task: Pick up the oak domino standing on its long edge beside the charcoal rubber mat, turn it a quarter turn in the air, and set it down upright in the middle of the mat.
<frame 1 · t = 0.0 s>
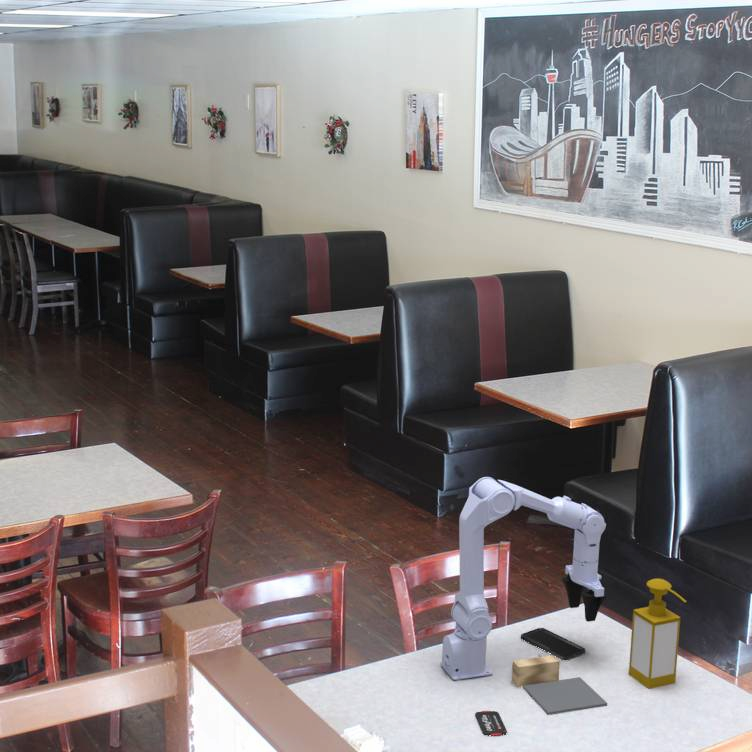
hand: (582, 613, 254), 10 cm above the table, tool pointing down, fingers open, 7 cm apart
rubber mat: (564, 696, 236), on the table
soap bottle: (659, 685, 242), on the table
phone: (552, 647, 260), on the table
oak domino: (535, 681, 243), on the table
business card: (490, 726, 224), on the table
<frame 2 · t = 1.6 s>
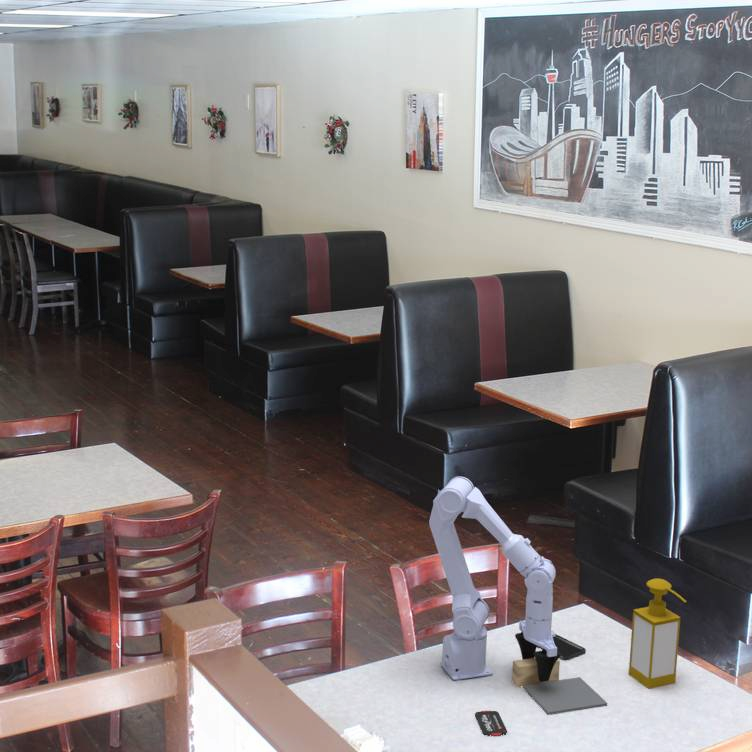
hand: (535, 672, 242), 2 cm above the table, tool pointing down, fingers open, 7 cm apart
nothing on the table moved.
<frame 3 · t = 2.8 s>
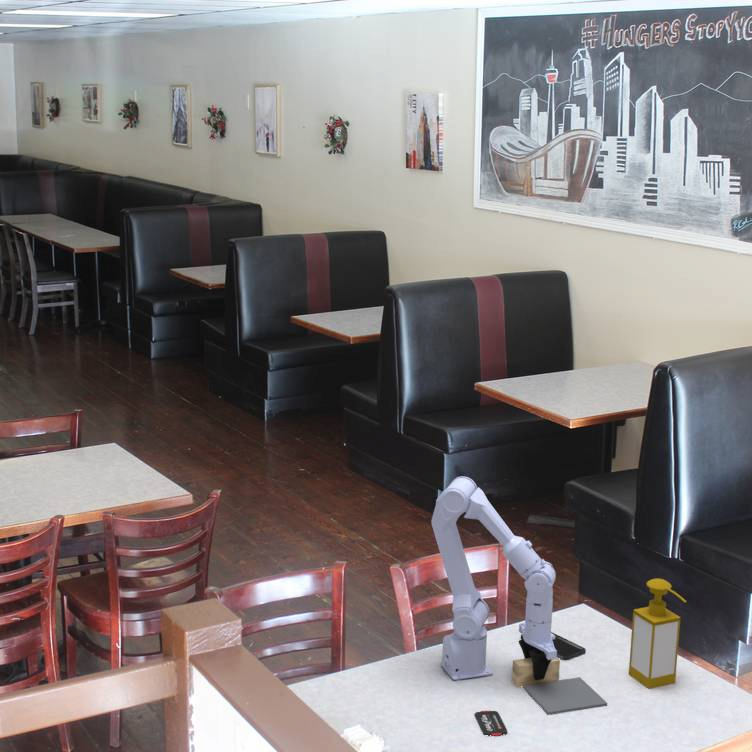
hand: (535, 675, 242), 1 cm above the table, tool pointing down, fingers closed on oak domino, 3 cm apart
oak domino: (535, 681, 243), on the table, touching gripper
everything else where it was.
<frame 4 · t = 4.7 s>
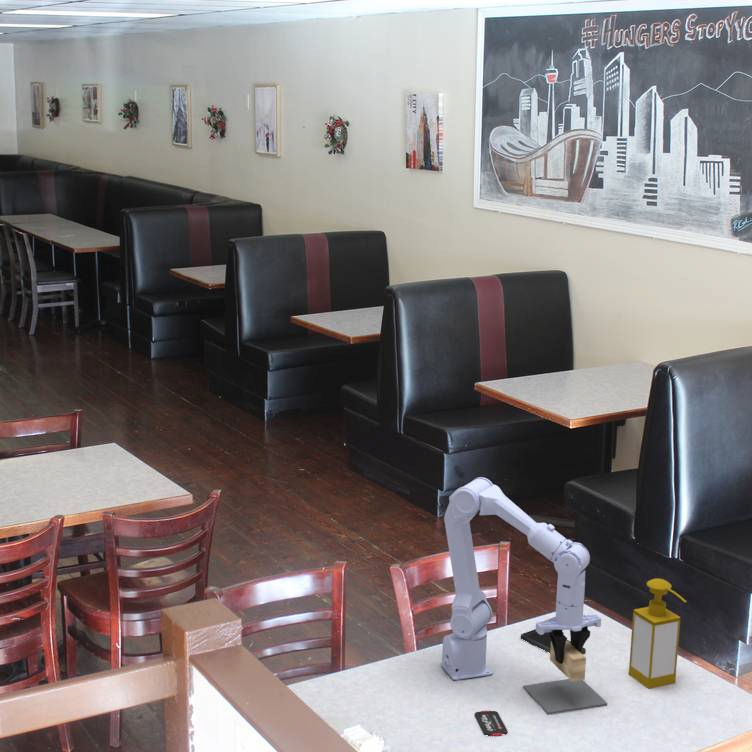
hand: (566, 660, 234), 8 cm above the table, tool pointing down, fingers closed on oak domino, 3 cm apart
oak domino: (566, 669, 234), point 6 cm above the table, touching gripper
everything else where it was.
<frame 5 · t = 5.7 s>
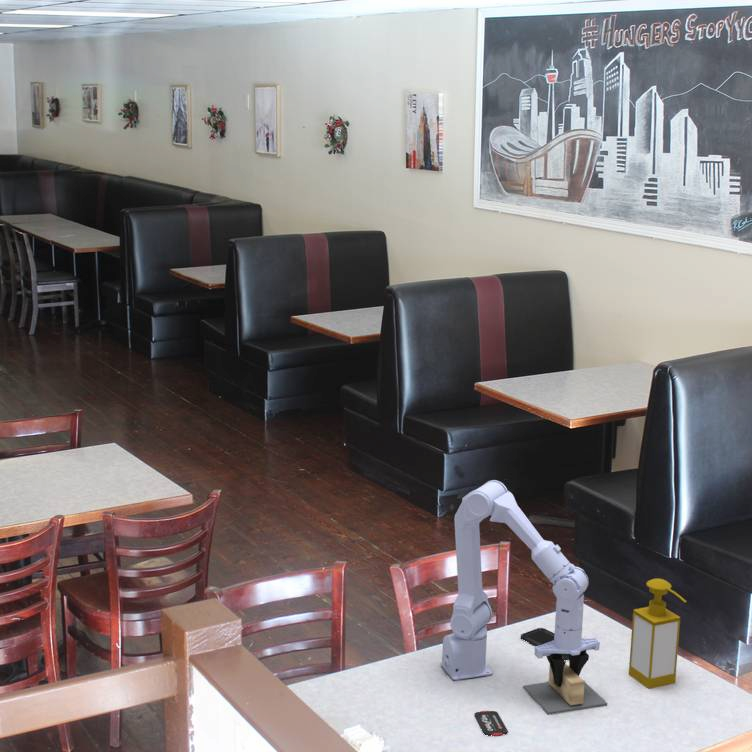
hand: (565, 683, 236), 3 cm above the table, tool pointing down, fingers closed on oak domino, 3 cm apart
oak domino: (565, 692, 236), point 1 cm above the table, touching gripper
everything else where it was.
when the fingers open (3 cm above the table, at t = 6.4 s): oak domino stays where it is, resting on rubber mat.
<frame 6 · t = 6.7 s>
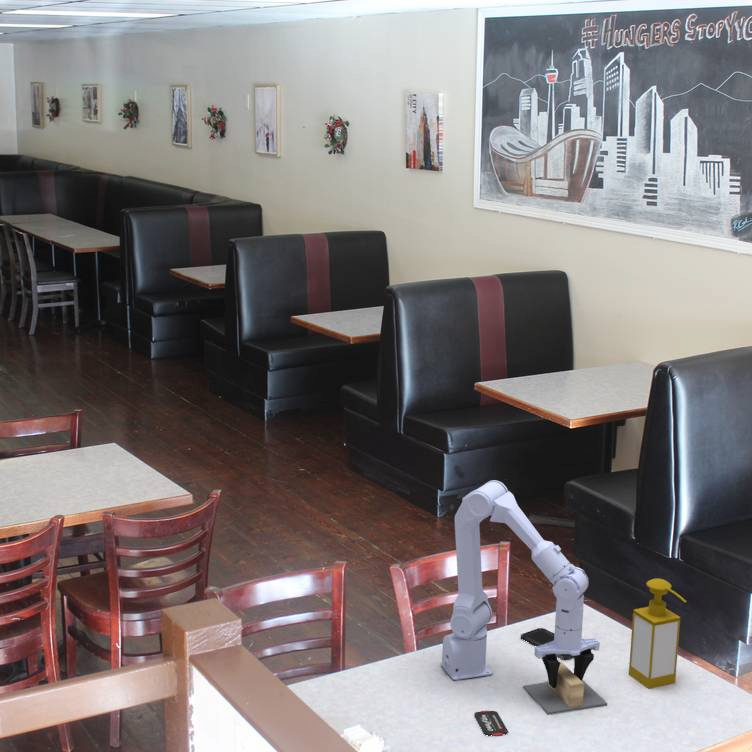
hand: (565, 684, 236), 3 cm above the table, tool pointing down, fingers open, 5 cm apart
oak domino: (565, 695, 236), resting on rubber mat
everything else where it was.
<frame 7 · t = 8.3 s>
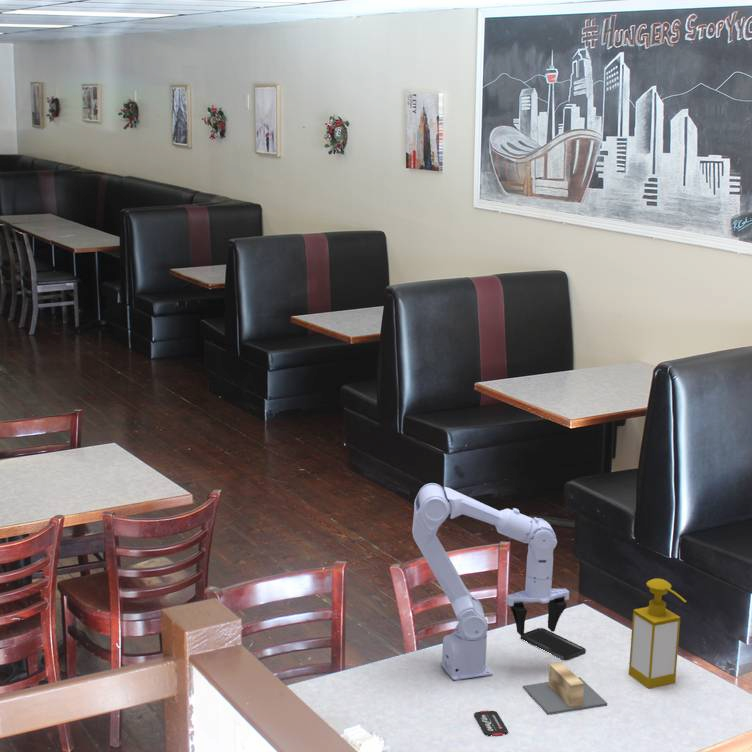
hand: (535, 631, 246), 9 cm above the table, tool pointing down, fingers open, 7 cm apart
nothing on the table moved.
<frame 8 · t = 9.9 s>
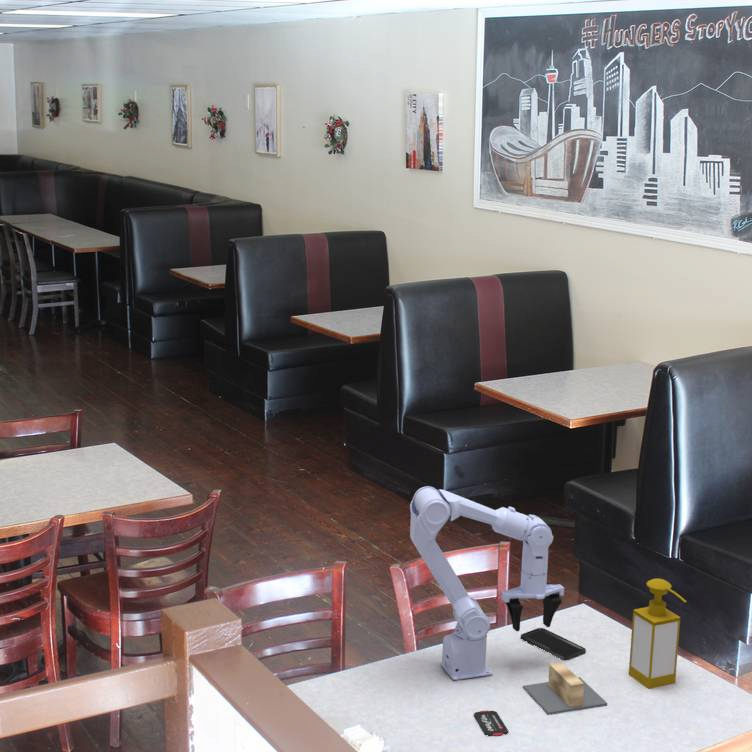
hand: (531, 627, 248), 9 cm above the table, tool pointing down, fingers open, 7 cm apart
nothing on the table moved.
at the end: oak domino inside the target area on the rubber mat (0.4 cm from its centre), point 0.5 cm above the rubber mat's base; oak domino tilted 0°; the gripper is holding nothing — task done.
